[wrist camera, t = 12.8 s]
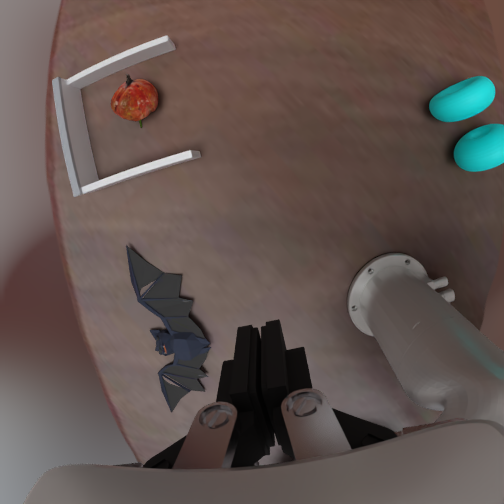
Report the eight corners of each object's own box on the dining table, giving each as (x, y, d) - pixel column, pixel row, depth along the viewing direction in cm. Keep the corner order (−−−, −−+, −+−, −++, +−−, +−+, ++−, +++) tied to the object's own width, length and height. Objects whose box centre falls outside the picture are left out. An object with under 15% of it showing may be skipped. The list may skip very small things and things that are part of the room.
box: (174, 44, 32) (162, 29, 26) (201, 157, 36) (191, 157, 31) (74, 86, 33) (52, 80, 28) (95, 191, 37) (74, 197, 32)
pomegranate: (169, 118, 36) (165, 65, 30) (149, 142, 33) (140, 84, 27) (131, 115, 37) (124, 65, 30) (109, 138, 33) (98, 84, 27)
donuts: (457, 80, 31) (500, 68, 22) (488, 141, 33) (532, 143, 24) (412, 107, 33) (453, 96, 23) (446, 172, 35) (491, 179, 26)
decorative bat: (223, 425, 44) (165, 420, 45) (227, 408, 48) (172, 404, 49) (189, 245, 35) (115, 249, 36) (198, 236, 39) (129, 241, 40)
